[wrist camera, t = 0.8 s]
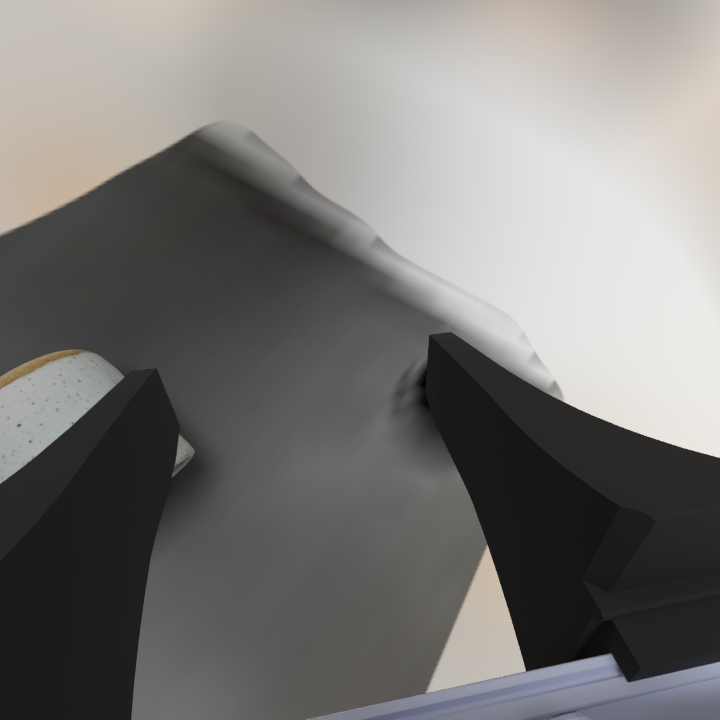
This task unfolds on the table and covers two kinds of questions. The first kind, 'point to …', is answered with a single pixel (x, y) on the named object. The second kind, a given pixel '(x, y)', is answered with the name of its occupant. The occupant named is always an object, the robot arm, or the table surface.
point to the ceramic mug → (54, 404)
